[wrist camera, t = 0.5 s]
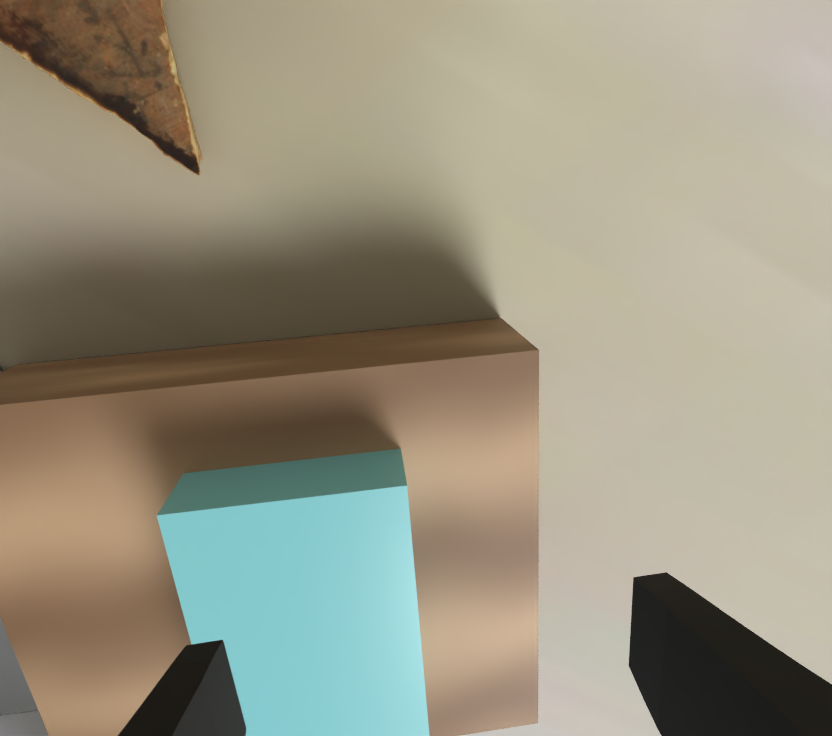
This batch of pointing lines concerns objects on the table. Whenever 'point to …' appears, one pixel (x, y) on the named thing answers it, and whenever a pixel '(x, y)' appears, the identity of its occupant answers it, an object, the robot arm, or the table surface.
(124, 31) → the shard
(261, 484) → the aqua rectangular block
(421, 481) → the brown wooden flat block
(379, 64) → the table surface
